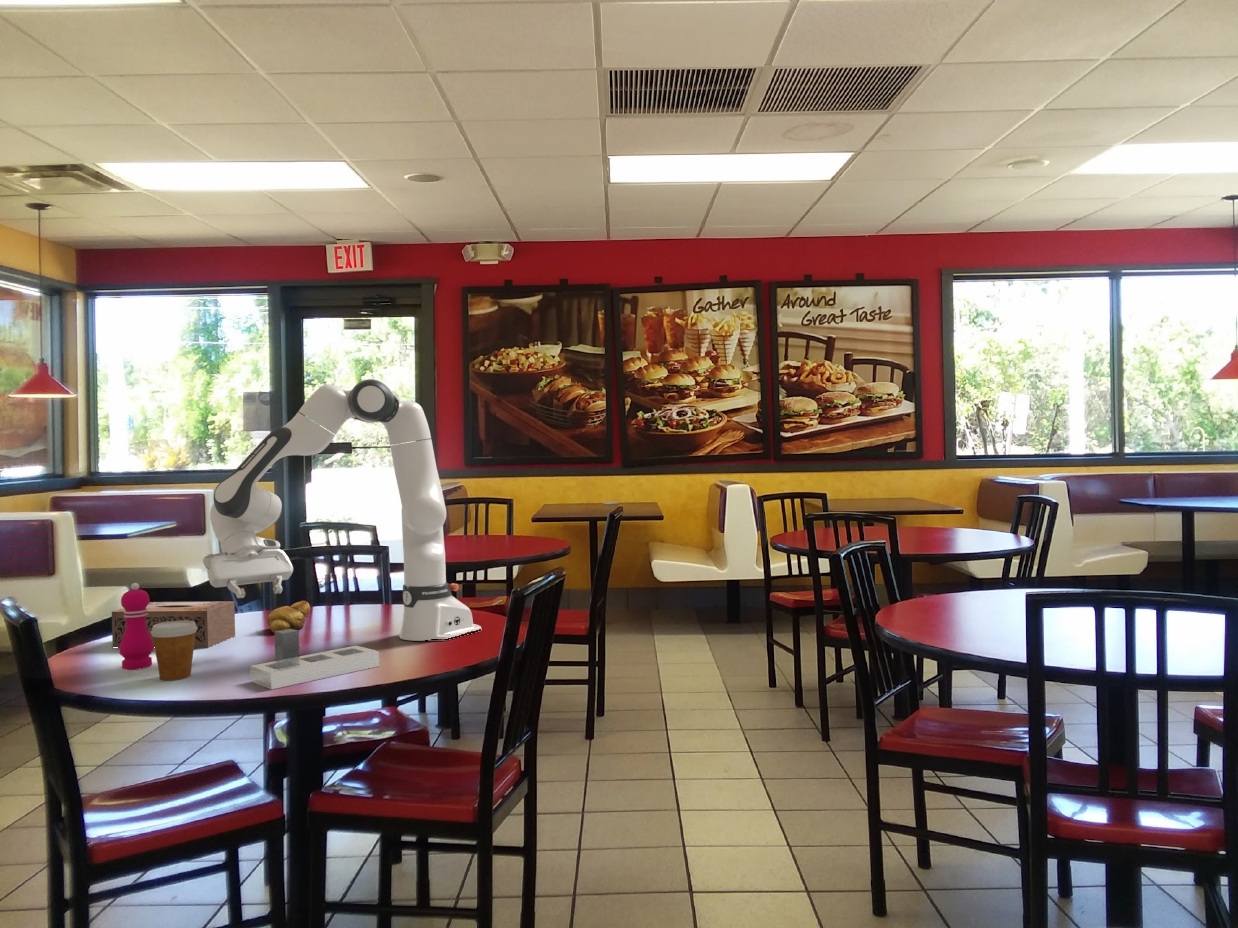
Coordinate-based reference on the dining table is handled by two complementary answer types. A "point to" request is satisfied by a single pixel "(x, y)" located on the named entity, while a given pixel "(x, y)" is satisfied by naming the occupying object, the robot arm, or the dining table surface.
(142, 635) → the pepper mill
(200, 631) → the tissue box cover
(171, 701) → the dining table surface
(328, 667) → the rail
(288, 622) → the bread roll
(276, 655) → the peg
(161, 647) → the disposable coffee cup
